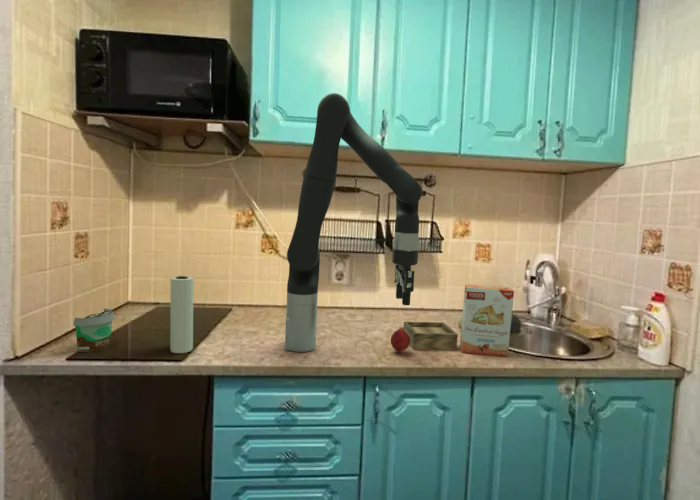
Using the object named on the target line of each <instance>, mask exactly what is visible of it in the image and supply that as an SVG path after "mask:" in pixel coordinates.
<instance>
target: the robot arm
mask: <svg viewBox="0 0 700 500" xmlns="http://www.w3.org/2000/svg"><path fill="white" fill-rule="evenodd" d="M341 140H342V141H343V142H345V143H346V144H347V145H348V146H349V147H350V148H351V149H352V150H353V151H354V153H355V154H357V156H359V158H360V159H361V160H362V161H363V163H364V164H365V165H366V166H367V167H368V168H369V169H370V170H371V171H372V173H374V174H375V175H376V177H378V178H379V180H380V181H382V182H383V183H384V184H386V185H387V186H388V187H389V189H391V191H392V192H393V193H394V195H395V198H396V199H395V209H396V210H395V211H396V212H395V213H396V215H395V223H394V233H393V234H394V235H393V242H392V258H391V260H392V261H391V262H392V263H393V264H394V265H395V269H394V272H395V273H394V281H393V282H394V284H395V299H398V300H402V301H401V304H402V305H403V306H410V304H411V293H413V292H414V290H415V289H414V287H415V286H414V285H415V270H412V266H417V265H418V260H419V249H420V248H419V245H420V244H419V243H420V238H419V237H420V235H419V232H420V231H419V230H420V228H419V227H420V218H419V217H420V216H419V205H420V204H419V202H420V200H421V198H422V195H423V189H422V186H421V184H420V183H419V181H417V179H416V178H414V177H413V176H412V175H411V174H410V173H409V172H408V171H406V170H405V169H404V168H403V167H402V165H400V163H399V162H398V161H397V160H396V159H395V157H393V155H391V153H389V151H387V149H386V148H384V146H382V145H381V144H380V143H379V142H378V141H377V140H375V139H374V138H373V137H371V135H369V134H368V133H367V132H366V131H365V130H364V129H363V128H362V126H361V125H360V124H359V122H357V120H356V119H355V117H354V115H353V114H352V113H351V107H350V104H349V101H348V100H347V99H346V98H345V97H344V96H343V95H342V94H340V93H337V92H331V93H328V94H326V95H325V96H323V97H322V98H321V99H320V100H319V103H318V106H317V111H316V122H315V131H314V138H313V143H312V145H311V148H310V153H309V155H308V159H307V162H306V167H305V170H304V176H303V178H302V179H303V180H302V184H301V188H300V189H301V190H300V194H299V202H298V209H297V218H296V223H295V228H294V230H293V234H292V236H291V239H290V243H289V246H288V248H287V251H286V259H287V262H288V265H289V267H288V270H289V271H288V279H287V284H286V285H287V286H286V293H287V294H286V311H285V312H286V313H285V314H286V315H285V332H284V335H285V336H284V337H285V338H284V350H285V351H291V352H298V353H306V352H311V351H314V350H315V349H316V346H317V344H316V343H317V321H318V319H317V317H318V299H319V297H318V296H319V295H318V294H319V292H318V291H319V280H320V264H321V263H320V262H321V252H320V247H319V243H320V236H321V231H322V226H323V223H324V220H325V218H326V215H327V212H328V210H329V207H330V205H331V201H332V199H333V198H332V197H333V194H334V189H335V185H336V180H337V173H338V161H339V159H338V158H339V149H340V148H339V147H340V143H341Z"/></svg>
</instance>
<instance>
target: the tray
mask: <svg viewBox="0 0 700 500" xmlns="http://www.w3.org/2000/svg"><path fill="white" fill-rule="evenodd" d="M403 328H404V329H403V330H404V331H405V332H406V333H407V334H408V335H409V337H410V345H409V346H410V347H411V349H412V350H417V351H418V350H420V351H421V350H423V351H425V350H426V351H427V350H431V351H432V350H434V351H435V350H436V351H437V350H438V351H439V350H440V351H441V350H442V351H443V350H444V351H447V350H449V351H456V350H457V349H458V348H457V347H458V333H457V332H455V331H454V330H453V329H452V328H451V327H450V326H448V325H447V324H446V323H445V322H442V321H441V322H440V321H438V322H437V321H403Z"/></svg>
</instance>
